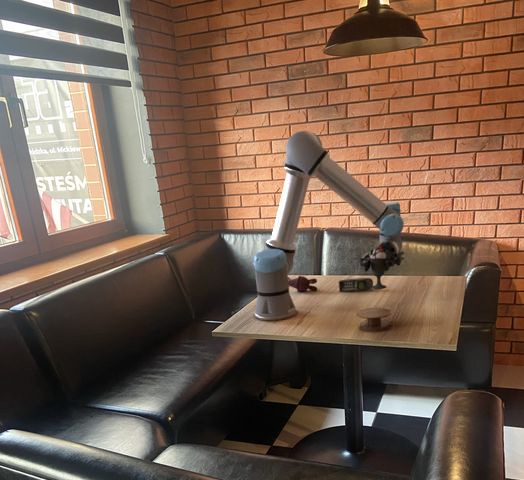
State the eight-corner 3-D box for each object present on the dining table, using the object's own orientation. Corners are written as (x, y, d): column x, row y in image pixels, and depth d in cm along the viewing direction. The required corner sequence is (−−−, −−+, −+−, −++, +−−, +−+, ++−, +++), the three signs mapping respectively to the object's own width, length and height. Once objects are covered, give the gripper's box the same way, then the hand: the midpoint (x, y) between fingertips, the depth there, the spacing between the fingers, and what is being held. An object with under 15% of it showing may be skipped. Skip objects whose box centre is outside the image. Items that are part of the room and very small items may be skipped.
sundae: (389, 289, 171) (389, 242, 166) (368, 290, 173) (367, 244, 168) (389, 284, 178) (388, 239, 172) (368, 285, 179) (367, 240, 174)
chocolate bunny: (280, 279, 224) (314, 282, 219) (285, 271, 230) (319, 273, 225) (281, 293, 228) (315, 296, 223) (286, 285, 234) (319, 287, 229)
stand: (351, 325, 178) (350, 311, 177) (380, 319, 181) (379, 305, 180) (367, 334, 169) (367, 319, 167) (398, 328, 172) (398, 313, 170)
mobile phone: (338, 281, 218) (376, 277, 215) (338, 279, 221) (375, 276, 217) (339, 292, 220) (376, 289, 216) (339, 291, 222) (376, 288, 219)
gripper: (413, 261, 186) (406, 278, 166) (360, 263, 193) (347, 279, 173) (413, 240, 183) (406, 254, 163) (359, 242, 190) (346, 256, 170)
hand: (376, 267), depth 168 cm, fingers closed on sundae, 6 cm apart
